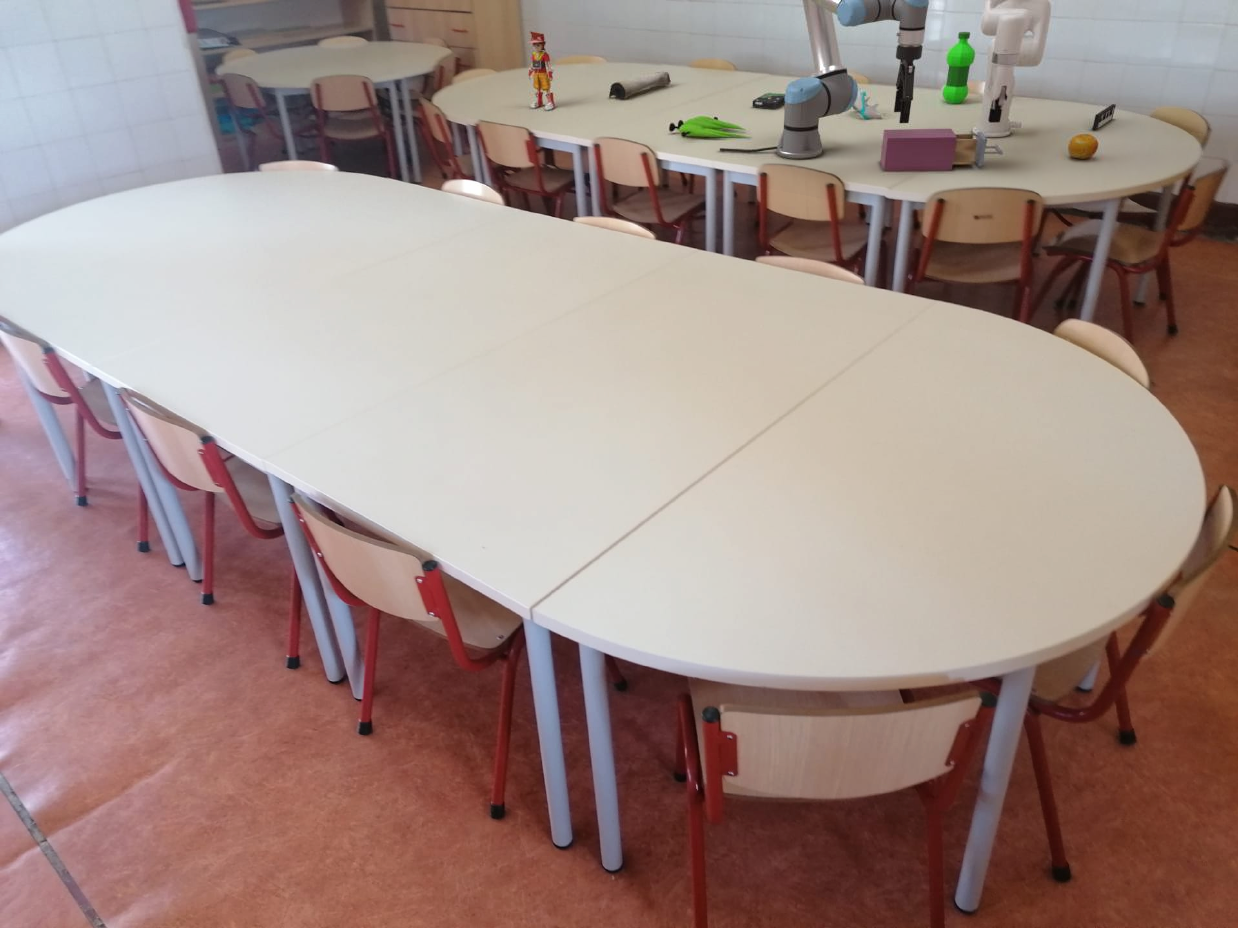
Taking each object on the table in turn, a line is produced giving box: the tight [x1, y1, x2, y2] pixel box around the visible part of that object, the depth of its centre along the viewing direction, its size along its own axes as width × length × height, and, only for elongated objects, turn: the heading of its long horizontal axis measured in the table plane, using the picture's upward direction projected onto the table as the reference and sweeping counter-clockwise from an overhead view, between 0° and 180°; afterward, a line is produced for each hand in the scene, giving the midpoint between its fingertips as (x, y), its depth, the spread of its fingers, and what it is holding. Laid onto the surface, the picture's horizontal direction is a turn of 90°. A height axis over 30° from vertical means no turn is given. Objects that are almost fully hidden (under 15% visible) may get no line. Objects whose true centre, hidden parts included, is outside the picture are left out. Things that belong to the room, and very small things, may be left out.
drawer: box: [953, 132, 1004, 167], centre depth 287 cm, size 26×9×8 cm, turn 83°
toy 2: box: [668, 115, 748, 138], centre depth 334 cm, size 28×5×30 cm
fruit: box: [1067, 133, 1099, 160], centre depth 287 cm, size 8×8×8 cm
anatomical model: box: [852, 88, 884, 120], centre depth 343 cm, size 15×10×10 cm
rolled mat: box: [608, 71, 672, 101], centre depth 395 cm, size 30×9×10 cm
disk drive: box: [752, 92, 786, 110], centre depth 366 cm, size 10×3×15 cm
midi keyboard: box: [1091, 103, 1117, 131], centre depth 317 cm, size 18×1×5 cm, turn 138°
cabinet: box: [879, 128, 957, 172], centre depth 288 cm, size 21×10×10 cm, turn 83°
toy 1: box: [527, 31, 556, 111], centre depth 374 cm, size 12×9×30 cm
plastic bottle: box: [942, 31, 976, 104], centre depth 348 cm, size 10×10×25 cm
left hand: (901, 117), depth 283 cm, fingers open, 13 cm apart
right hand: (993, 121), depth 281 cm, fingers closed
